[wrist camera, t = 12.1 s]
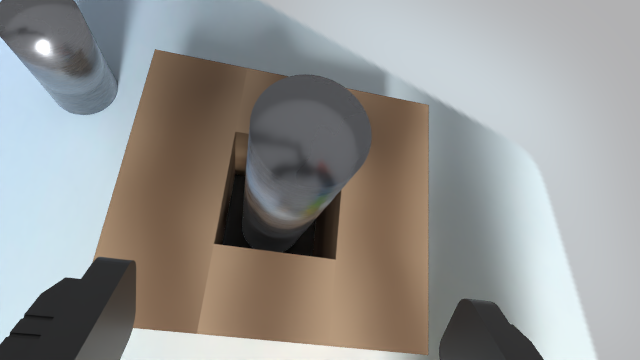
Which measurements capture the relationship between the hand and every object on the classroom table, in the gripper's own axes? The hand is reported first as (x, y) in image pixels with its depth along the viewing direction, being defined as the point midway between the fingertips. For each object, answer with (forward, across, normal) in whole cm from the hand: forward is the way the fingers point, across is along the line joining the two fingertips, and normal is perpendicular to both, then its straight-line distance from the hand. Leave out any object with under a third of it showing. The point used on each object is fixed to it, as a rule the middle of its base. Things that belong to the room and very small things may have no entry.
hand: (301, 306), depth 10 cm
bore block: (+15, 0, +7) cm, 17 cm away
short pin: (+21, +14, +2) cm, 25 cm away
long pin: (+15, 0, +8) cm, 17 cm away
